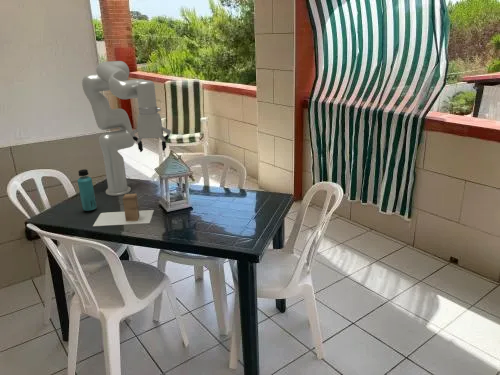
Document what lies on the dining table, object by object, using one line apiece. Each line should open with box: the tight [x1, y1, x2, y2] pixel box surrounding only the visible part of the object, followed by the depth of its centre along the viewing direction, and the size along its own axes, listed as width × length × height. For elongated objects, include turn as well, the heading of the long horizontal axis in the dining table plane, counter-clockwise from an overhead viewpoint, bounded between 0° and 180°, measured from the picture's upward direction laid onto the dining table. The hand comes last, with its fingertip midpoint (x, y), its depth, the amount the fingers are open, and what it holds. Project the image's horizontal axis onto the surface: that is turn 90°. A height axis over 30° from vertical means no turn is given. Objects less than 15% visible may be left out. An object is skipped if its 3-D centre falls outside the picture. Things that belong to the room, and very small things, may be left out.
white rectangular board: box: [92, 209, 155, 227], centre depth 180 cm, size 14×24×1 cm, turn 95°
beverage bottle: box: [77, 168, 97, 212], centre depth 185 cm, size 6×7×20 cm
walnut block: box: [122, 193, 140, 222], centre depth 176 cm, size 5×5×11 cm
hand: (152, 150), depth 176 cm, fingers open, 9 cm apart
